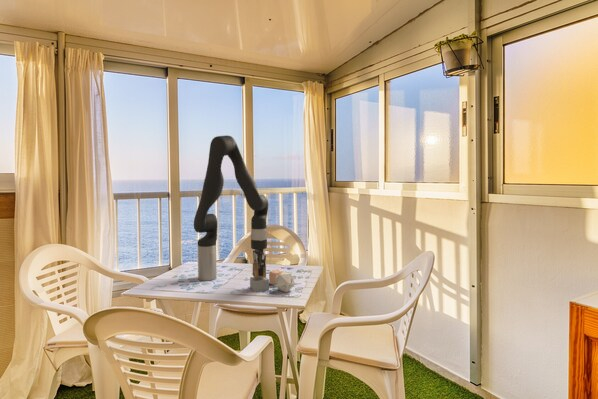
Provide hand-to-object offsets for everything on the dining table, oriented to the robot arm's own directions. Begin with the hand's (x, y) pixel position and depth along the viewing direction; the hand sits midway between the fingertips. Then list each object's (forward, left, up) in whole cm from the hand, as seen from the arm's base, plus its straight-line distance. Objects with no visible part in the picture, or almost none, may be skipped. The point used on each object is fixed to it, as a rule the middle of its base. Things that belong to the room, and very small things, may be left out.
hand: (259, 274), depth 171 cm
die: (+7, +10, -7) cm, 14 cm away
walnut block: (0, 0, -1) cm, 1 cm away
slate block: (0, 0, -7) cm, 7 cm away
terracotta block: (-5, +10, -7) cm, 13 cm away
